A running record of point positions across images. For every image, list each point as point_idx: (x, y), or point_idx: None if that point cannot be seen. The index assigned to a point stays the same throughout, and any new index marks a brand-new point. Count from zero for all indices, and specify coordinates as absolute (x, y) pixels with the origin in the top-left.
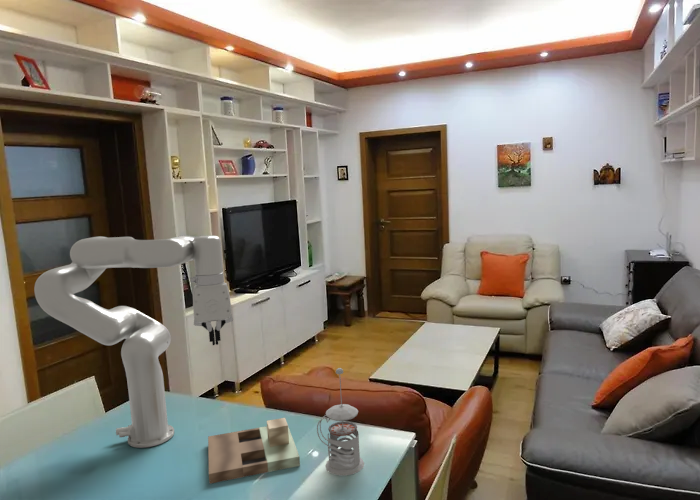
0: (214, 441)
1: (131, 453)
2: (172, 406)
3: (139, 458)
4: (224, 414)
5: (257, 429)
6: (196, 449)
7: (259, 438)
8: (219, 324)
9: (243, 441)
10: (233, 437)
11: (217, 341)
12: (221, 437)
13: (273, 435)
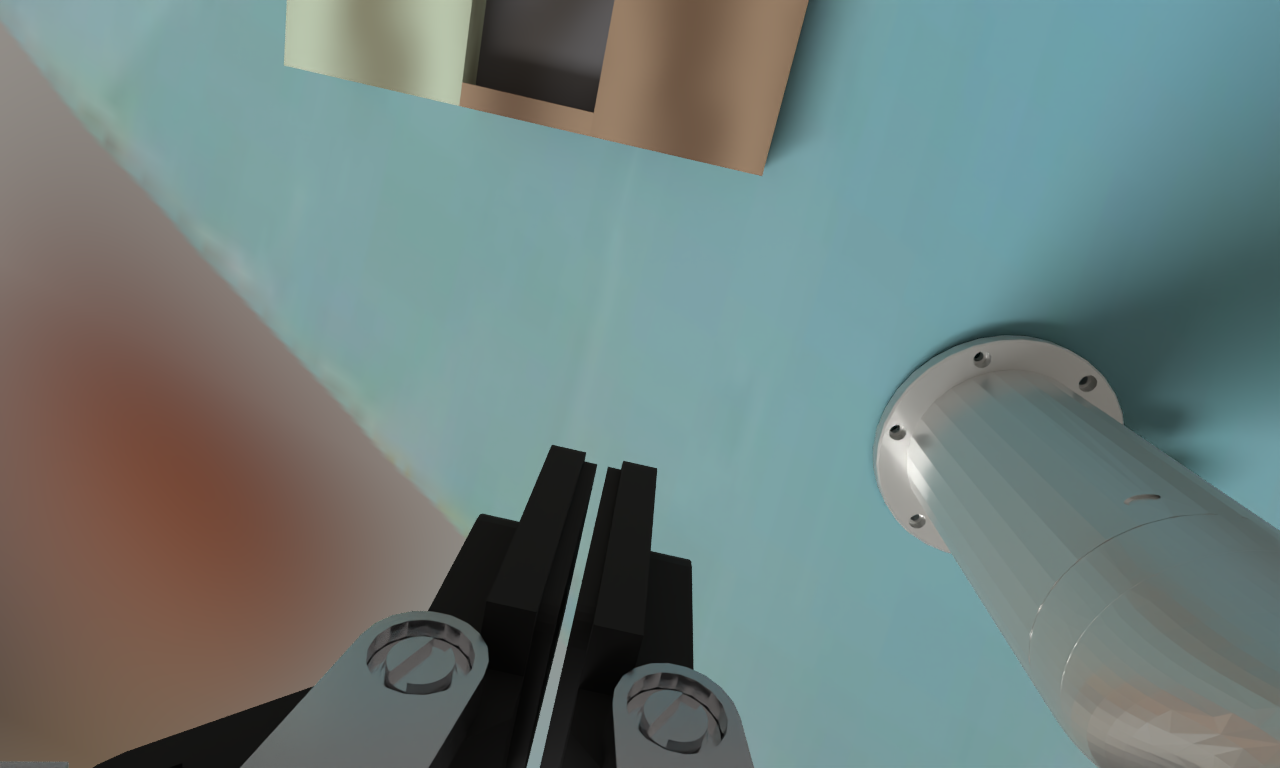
0: (748, 81)
1: (1131, 328)
2: (795, 725)
3: (1116, 245)
4: None
5: (474, 85)
6: (830, 162)
7: (484, 60)
8: (323, 744)
9: (576, 81)
10: (633, 63)
11: (554, 469)
12: (696, 111)
13: None
